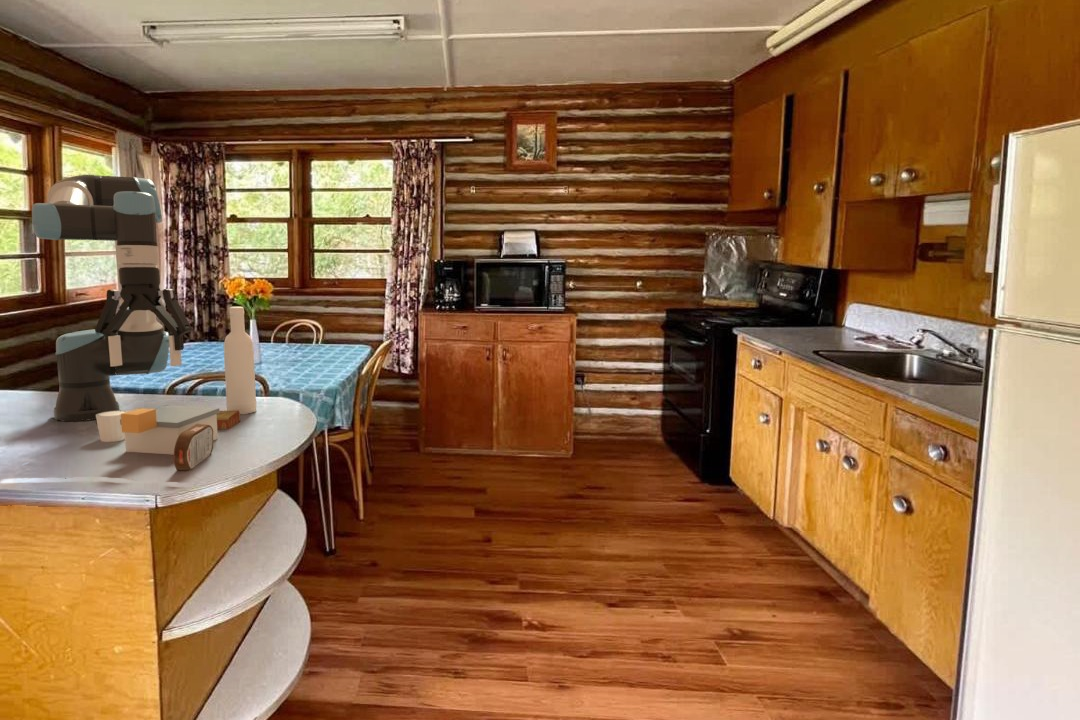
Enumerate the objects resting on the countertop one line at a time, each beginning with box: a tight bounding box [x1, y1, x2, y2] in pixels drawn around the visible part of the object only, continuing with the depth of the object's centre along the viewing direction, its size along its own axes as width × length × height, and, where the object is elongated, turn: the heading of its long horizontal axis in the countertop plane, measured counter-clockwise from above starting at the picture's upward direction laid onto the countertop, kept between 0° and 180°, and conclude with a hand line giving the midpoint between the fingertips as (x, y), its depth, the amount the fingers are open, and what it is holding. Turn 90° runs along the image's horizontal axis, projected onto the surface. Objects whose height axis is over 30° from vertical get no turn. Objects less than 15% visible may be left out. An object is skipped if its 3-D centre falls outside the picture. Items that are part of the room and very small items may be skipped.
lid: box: [120, 404, 220, 433], centre depth 155 cm, size 14×20×6 cm
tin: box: [173, 424, 214, 471], centre depth 146 cm, size 15×3×8 cm, turn 5°
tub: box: [124, 414, 219, 456], centre depth 159 cm, size 13×14×7 cm
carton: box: [216, 410, 241, 430], centre depth 177 cm, size 8×16×4 cm, turn 95°
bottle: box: [223, 306, 257, 415], centre depth 194 cm, size 8×8×30 cm
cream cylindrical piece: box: [95, 410, 130, 443], centre depth 163 cm, size 7×7×7 cm
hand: (146, 365), depth 148 cm, fingers open, 13 cm apart
